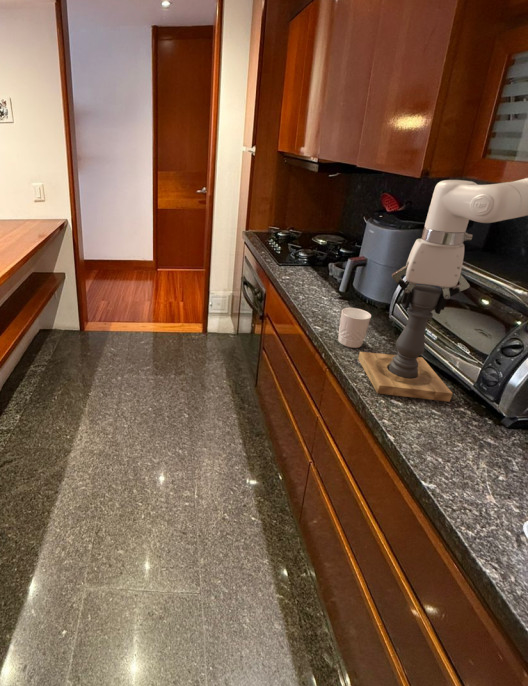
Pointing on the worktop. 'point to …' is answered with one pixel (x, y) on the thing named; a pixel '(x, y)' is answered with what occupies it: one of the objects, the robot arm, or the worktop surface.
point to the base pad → (403, 379)
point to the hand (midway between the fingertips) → (421, 308)
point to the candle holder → (414, 331)
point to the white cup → (353, 327)
